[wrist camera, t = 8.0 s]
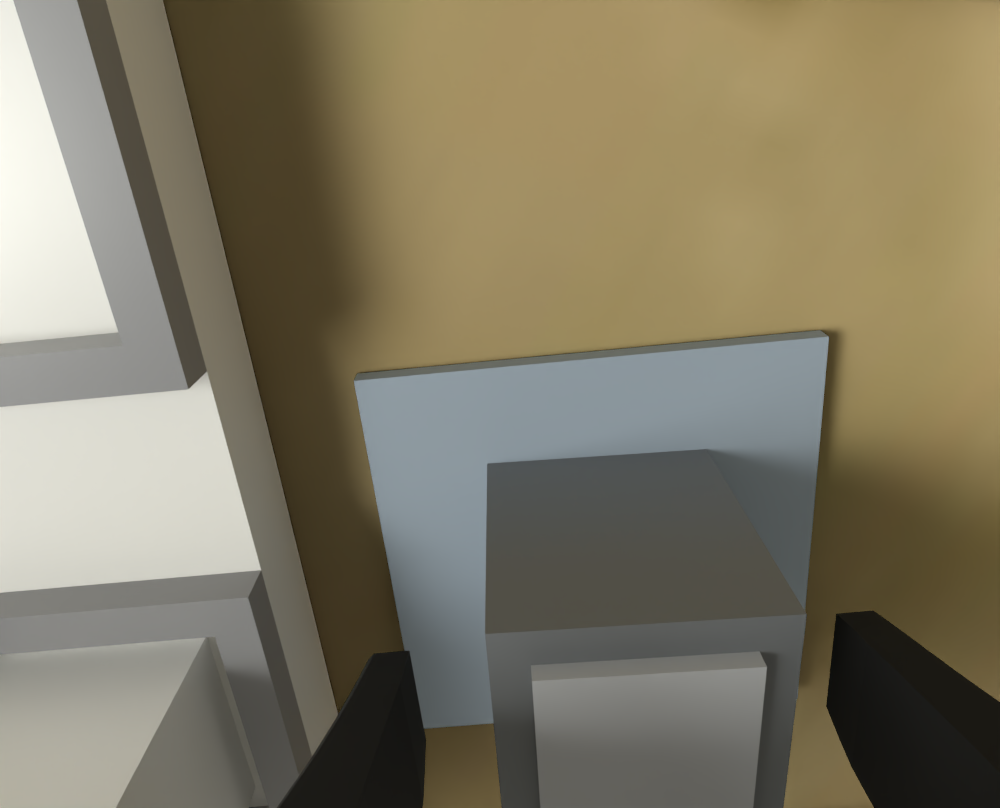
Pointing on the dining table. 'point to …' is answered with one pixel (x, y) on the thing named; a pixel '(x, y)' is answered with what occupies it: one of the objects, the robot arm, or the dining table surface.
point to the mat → (572, 434)
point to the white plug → (119, 729)
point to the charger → (636, 637)
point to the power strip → (136, 385)
